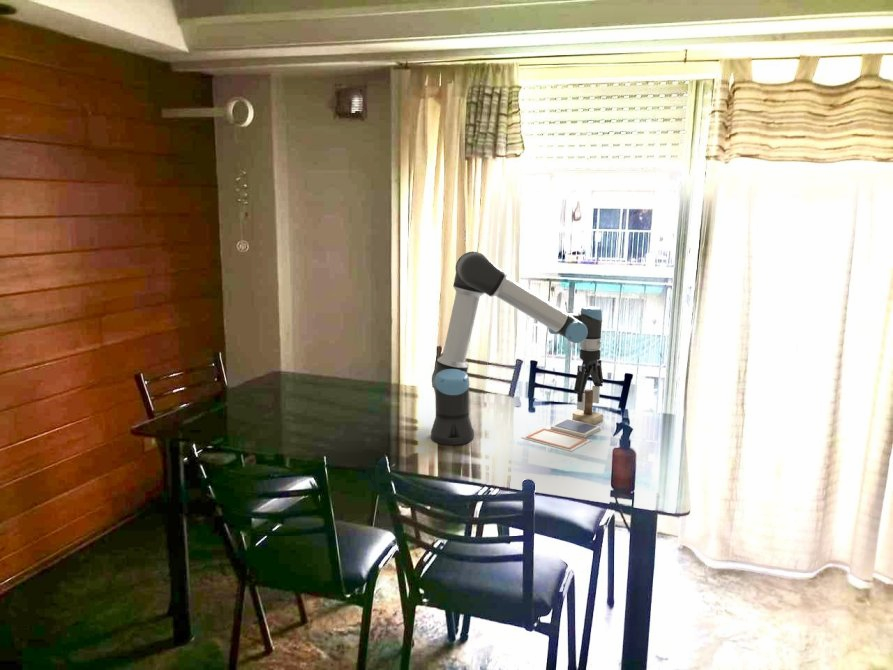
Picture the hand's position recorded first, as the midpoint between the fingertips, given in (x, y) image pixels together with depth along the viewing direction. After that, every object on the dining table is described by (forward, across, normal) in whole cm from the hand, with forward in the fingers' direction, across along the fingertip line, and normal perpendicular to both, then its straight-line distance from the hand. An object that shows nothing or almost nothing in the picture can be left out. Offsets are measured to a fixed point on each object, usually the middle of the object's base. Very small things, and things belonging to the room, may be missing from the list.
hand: (588, 406), depth 249 cm
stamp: (+6, 0, 0) cm, 6 cm away
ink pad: (+5, -12, -2) cm, 14 cm away
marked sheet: (+5, -26, -2) cm, 26 cm away
